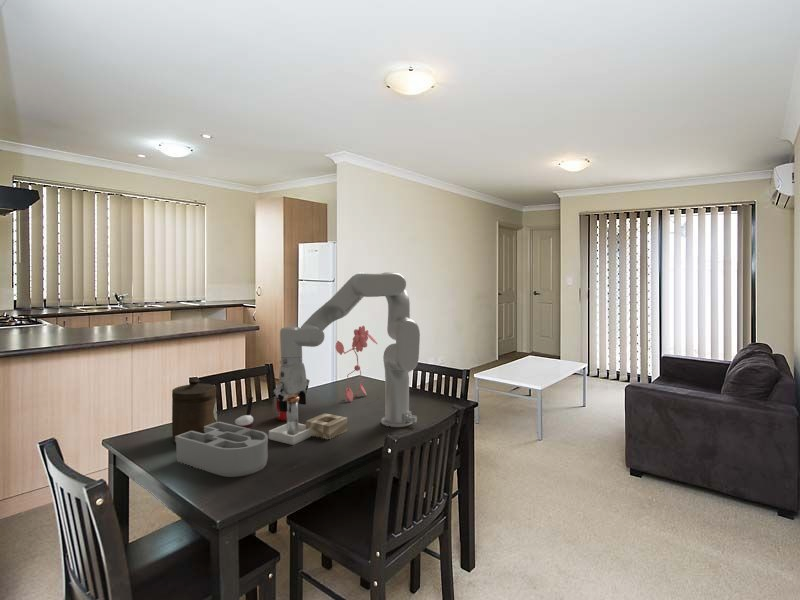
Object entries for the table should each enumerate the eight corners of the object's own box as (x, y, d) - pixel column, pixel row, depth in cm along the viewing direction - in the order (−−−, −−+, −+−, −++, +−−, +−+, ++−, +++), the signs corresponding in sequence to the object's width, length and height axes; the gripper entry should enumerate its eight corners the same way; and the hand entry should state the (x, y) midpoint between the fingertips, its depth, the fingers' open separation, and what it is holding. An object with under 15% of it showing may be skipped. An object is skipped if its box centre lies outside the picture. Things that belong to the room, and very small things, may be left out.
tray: (315, 434, 169) (314, 426, 169) (293, 445, 159) (293, 436, 159) (291, 429, 175) (291, 421, 175) (268, 439, 165) (268, 430, 165)
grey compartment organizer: (218, 445, 159) (218, 421, 159) (279, 462, 146) (279, 435, 145) (175, 463, 145) (174, 436, 144) (238, 483, 131) (237, 453, 131)
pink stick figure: (330, 403, 209) (331, 327, 207) (365, 391, 231) (366, 322, 228) (356, 409, 201) (357, 330, 198) (390, 396, 222) (391, 325, 220)
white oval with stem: (238, 438, 167) (237, 406, 165) (229, 433, 171) (227, 402, 169) (261, 430, 174) (260, 399, 173) (251, 426, 178) (250, 396, 177)
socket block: (347, 430, 174) (347, 417, 174) (329, 439, 164) (329, 426, 164) (324, 425, 179) (324, 413, 179) (305, 434, 170) (305, 421, 169)
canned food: (291, 421, 184) (291, 394, 183) (273, 420, 186) (272, 393, 185) (299, 416, 191) (299, 390, 191) (281, 414, 193) (281, 389, 192)
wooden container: (226, 435, 169) (224, 376, 168) (189, 448, 156) (188, 384, 155) (200, 428, 176) (198, 371, 175) (163, 440, 164) (161, 379, 162)
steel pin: (302, 433, 168) (302, 396, 167) (293, 438, 164) (292, 399, 163) (292, 431, 171) (291, 394, 170) (282, 435, 166) (281, 397, 165)
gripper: (282, 366, 156) (283, 415, 157) (315, 357, 171) (316, 402, 172) (266, 364, 160) (267, 412, 161) (300, 356, 175) (301, 400, 176)
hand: (293, 407), depth 167 cm, fingers open, 9 cm apart
